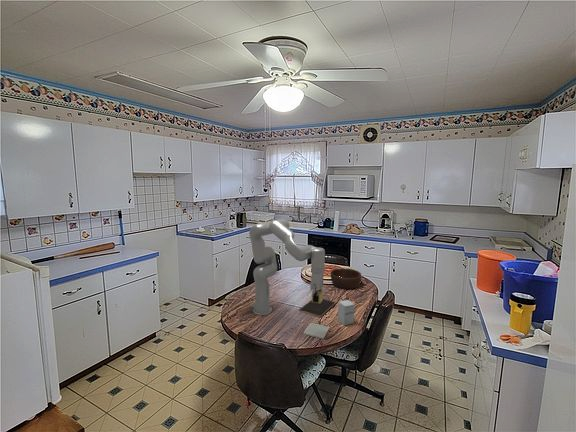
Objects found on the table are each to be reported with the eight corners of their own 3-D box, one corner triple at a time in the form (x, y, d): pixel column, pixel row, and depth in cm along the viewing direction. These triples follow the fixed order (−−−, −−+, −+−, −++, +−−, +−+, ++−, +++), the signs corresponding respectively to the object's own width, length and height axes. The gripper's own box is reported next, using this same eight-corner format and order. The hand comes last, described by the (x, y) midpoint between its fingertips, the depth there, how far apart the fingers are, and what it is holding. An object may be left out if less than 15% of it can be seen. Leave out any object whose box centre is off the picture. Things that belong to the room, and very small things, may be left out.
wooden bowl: (327, 280, 250) (327, 268, 248) (354, 279, 252) (355, 267, 251) (334, 291, 225) (335, 279, 223) (365, 290, 228) (366, 278, 226)
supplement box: (344, 325, 174) (344, 306, 172) (337, 320, 180) (337, 301, 179) (354, 323, 177) (354, 304, 175) (347, 318, 183) (347, 299, 182)
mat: (303, 334, 164) (303, 332, 164) (310, 324, 175) (310, 322, 175) (323, 339, 160) (323, 337, 159) (329, 328, 170) (329, 327, 170)
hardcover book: (335, 305, 203) (335, 302, 202) (320, 318, 183) (320, 315, 183) (314, 299, 211) (314, 296, 211) (299, 312, 192) (299, 308, 192)
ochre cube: (311, 301, 164) (311, 293, 163) (314, 298, 168) (314, 290, 167) (320, 303, 162) (320, 294, 161) (322, 299, 166) (322, 291, 165)
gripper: (316, 264, 171) (315, 293, 174) (306, 273, 156) (306, 304, 159) (328, 266, 168) (327, 295, 171) (319, 275, 153) (319, 307, 156)
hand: (317, 299), depth 165 cm, fingers closed on ochre cube, 5 cm apart
